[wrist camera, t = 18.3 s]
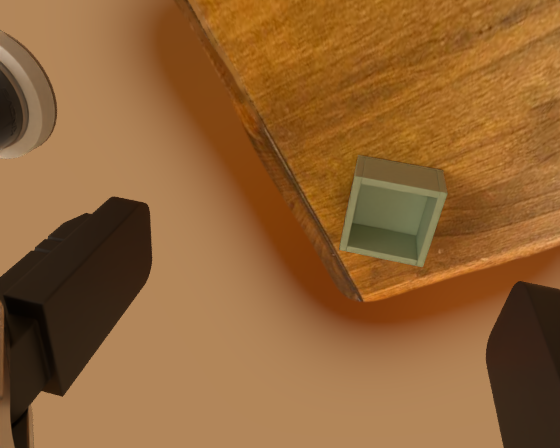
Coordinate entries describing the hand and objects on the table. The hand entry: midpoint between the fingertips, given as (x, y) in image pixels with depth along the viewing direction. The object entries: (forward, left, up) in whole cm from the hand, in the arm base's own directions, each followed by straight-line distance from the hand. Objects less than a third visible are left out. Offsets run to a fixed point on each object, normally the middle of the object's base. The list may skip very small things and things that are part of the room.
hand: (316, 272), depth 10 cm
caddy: (+4, -13, -30) cm, 33 cm away
